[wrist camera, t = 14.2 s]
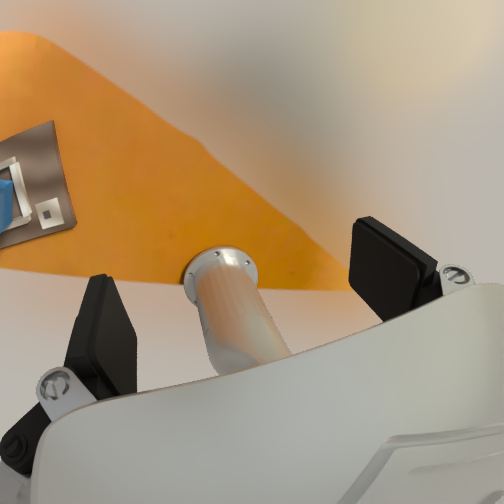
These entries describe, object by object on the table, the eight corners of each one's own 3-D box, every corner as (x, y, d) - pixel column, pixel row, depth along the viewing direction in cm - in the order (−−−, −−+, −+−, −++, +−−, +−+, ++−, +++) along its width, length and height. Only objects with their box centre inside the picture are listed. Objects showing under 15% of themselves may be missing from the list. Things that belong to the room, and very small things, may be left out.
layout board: (77, 222, 39) (72, 230, 36) (-10, 248, 35) (-17, 257, 32) (53, 120, 31) (46, 121, 28) (-36, 161, 27) (-45, 165, 25)
